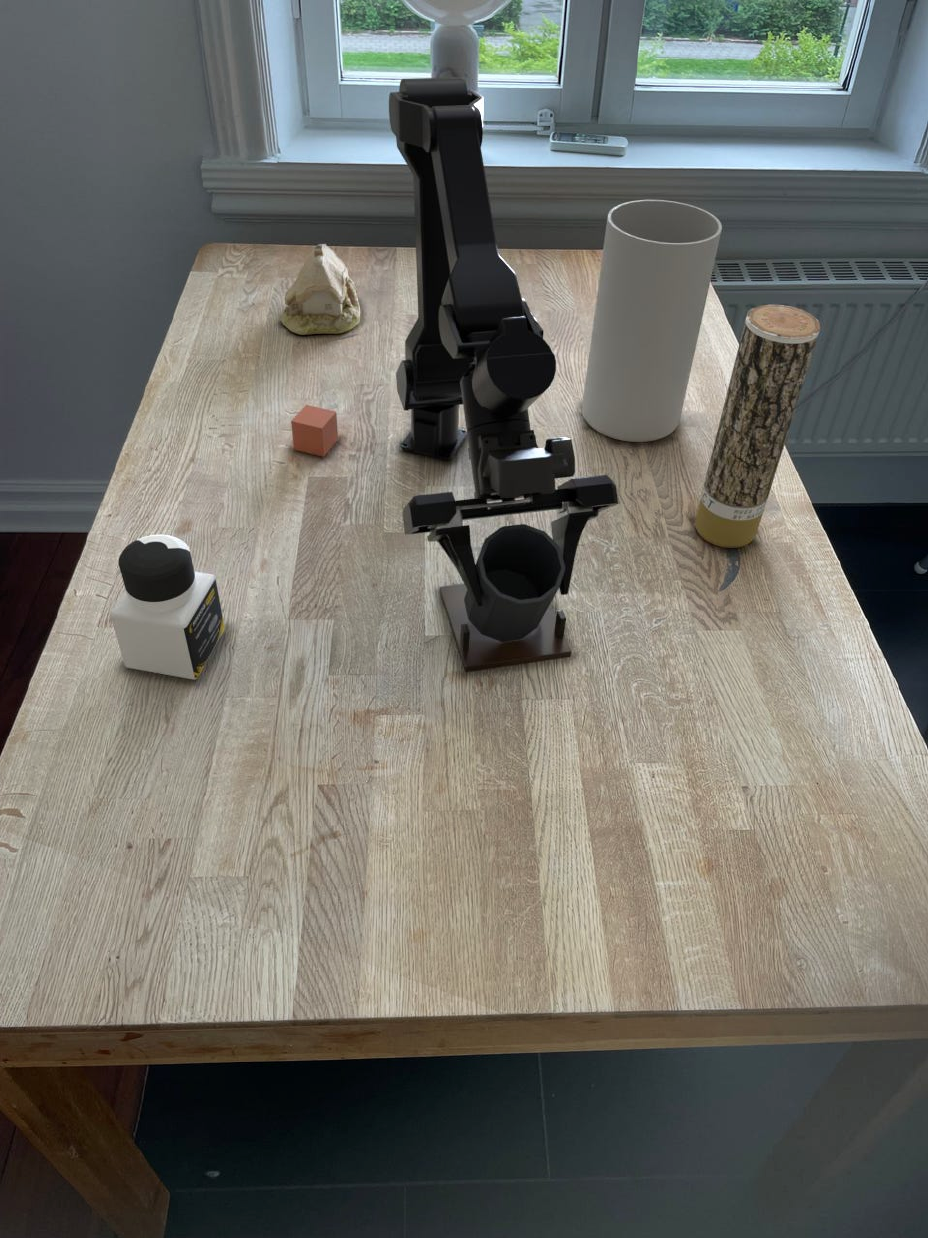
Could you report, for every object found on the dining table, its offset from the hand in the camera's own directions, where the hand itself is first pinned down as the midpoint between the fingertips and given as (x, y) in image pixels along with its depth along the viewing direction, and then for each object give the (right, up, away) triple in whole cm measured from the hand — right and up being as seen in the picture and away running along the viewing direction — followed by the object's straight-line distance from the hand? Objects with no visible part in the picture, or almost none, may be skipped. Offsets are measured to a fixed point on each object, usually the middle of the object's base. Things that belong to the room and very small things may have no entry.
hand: (522, 600), depth 87 cm
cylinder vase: (+16, +24, +37) cm, 47 cm away
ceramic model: (-26, +43, +55) cm, 74 cm away
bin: (-1, 0, +7) cm, 7 cm away
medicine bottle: (-32, -5, +5) cm, 33 cm away
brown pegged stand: (-1, -2, +9) cm, 9 cm away
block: (-23, +19, +30) cm, 43 cm away
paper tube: (+24, +8, +21) cm, 32 cm away
